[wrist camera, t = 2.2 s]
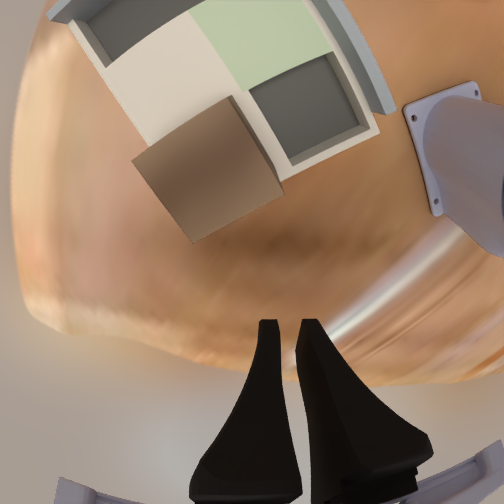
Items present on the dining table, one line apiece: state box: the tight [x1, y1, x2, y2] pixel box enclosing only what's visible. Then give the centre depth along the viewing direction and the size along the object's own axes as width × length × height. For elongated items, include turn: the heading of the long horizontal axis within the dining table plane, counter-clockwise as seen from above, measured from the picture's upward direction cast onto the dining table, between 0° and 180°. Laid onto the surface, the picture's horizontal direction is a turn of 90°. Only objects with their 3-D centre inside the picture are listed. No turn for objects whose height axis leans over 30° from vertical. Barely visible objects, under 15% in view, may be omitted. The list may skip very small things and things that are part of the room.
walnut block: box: [132, 95, 285, 243], centre depth 14 cm, size 5×5×5 cm
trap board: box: [46, 0, 397, 182], centre depth 12 cm, size 18×13×4 cm
